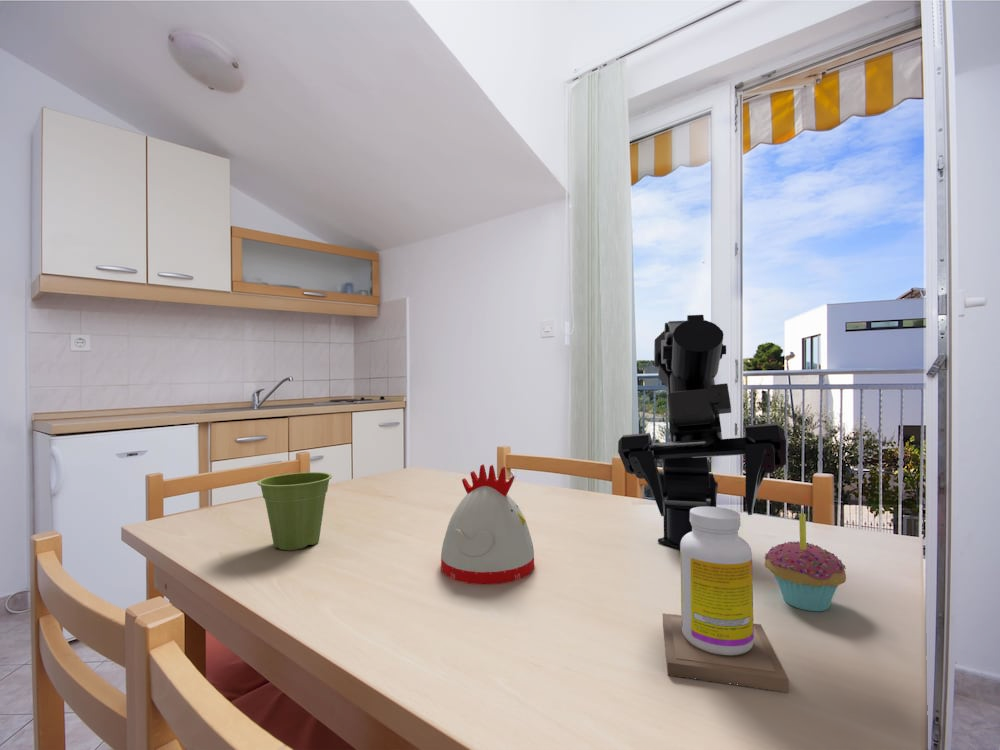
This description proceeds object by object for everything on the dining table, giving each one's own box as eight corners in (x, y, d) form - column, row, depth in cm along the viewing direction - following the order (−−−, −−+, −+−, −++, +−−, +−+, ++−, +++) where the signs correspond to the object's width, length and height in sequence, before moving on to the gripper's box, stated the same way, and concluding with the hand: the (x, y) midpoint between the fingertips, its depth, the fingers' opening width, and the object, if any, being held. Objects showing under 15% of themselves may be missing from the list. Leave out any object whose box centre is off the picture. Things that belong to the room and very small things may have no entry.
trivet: (662, 624, 56) (662, 612, 56) (761, 635, 53) (760, 623, 53) (667, 675, 46) (667, 661, 46) (788, 692, 43) (788, 678, 43)
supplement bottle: (769, 656, 47) (766, 520, 47) (701, 661, 46) (699, 522, 46) (729, 622, 53) (727, 502, 53) (670, 625, 53) (668, 504, 53)
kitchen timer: (517, 590, 65) (516, 476, 65) (424, 577, 70) (423, 470, 70) (544, 554, 78) (543, 459, 78) (464, 545, 83) (463, 456, 83)
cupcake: (849, 626, 55) (847, 517, 55) (762, 608, 59) (760, 507, 59) (844, 597, 62) (842, 501, 62) (767, 582, 66) (766, 493, 67)
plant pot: (323, 529, 93) (322, 469, 93) (340, 546, 83) (340, 479, 83) (253, 541, 86) (252, 476, 86) (263, 561, 76) (262, 488, 76)
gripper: (609, 374, 64) (605, 482, 54) (772, 353, 57) (801, 474, 47) (627, 423, 71) (627, 526, 62) (773, 410, 64) (799, 525, 54)
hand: (704, 514), depth 56 cm, fingers open, 9 cm apart
